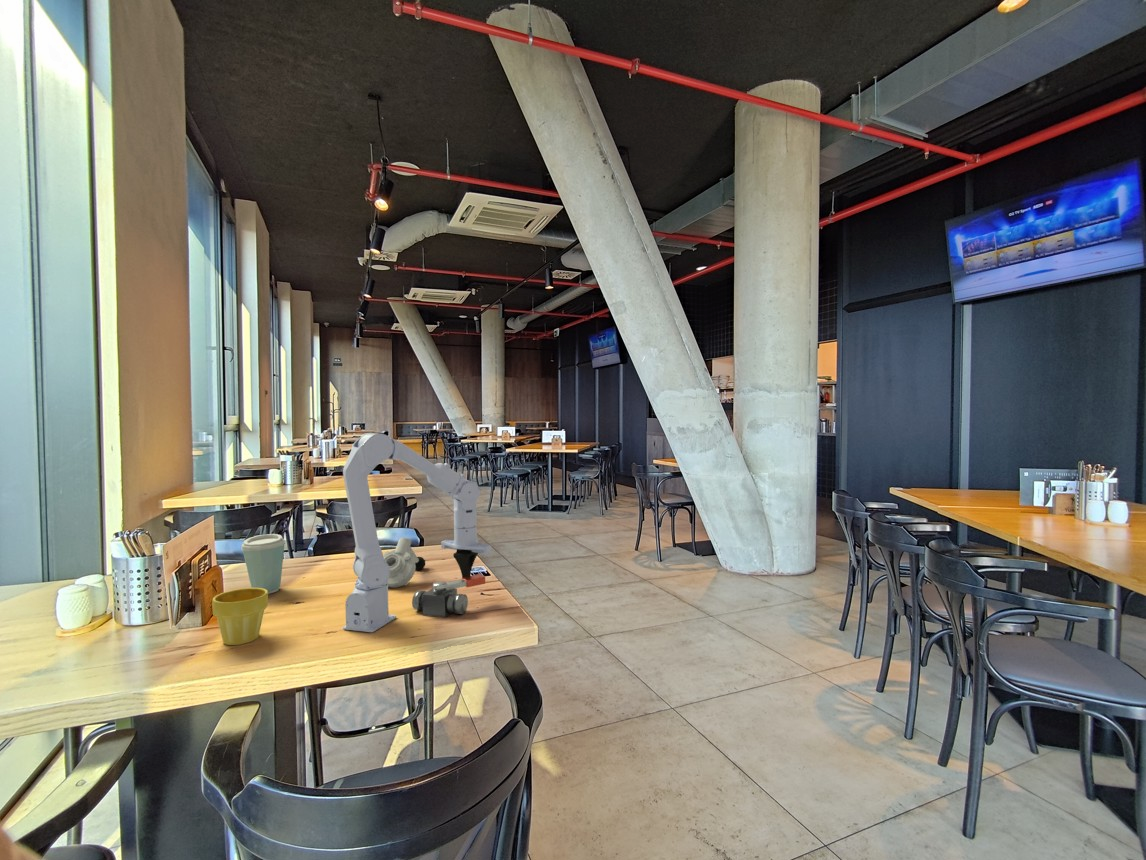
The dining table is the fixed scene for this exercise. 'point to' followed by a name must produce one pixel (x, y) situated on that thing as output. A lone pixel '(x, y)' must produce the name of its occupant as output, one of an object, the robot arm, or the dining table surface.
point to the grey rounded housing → (402, 563)
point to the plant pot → (240, 614)
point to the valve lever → (459, 583)
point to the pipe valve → (440, 602)
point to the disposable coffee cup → (264, 561)
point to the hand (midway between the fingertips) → (466, 578)
